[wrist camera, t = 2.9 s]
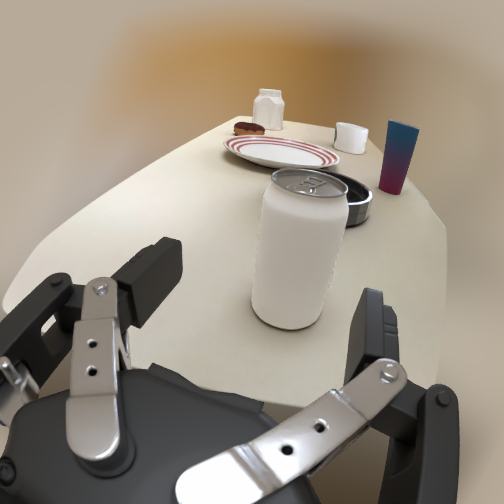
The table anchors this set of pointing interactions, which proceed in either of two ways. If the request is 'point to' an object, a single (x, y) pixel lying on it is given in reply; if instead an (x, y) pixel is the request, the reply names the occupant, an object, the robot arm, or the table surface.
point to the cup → (397, 155)
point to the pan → (351, 196)
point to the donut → (248, 129)
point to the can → (297, 246)
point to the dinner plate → (280, 152)
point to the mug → (350, 138)
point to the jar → (268, 109)
